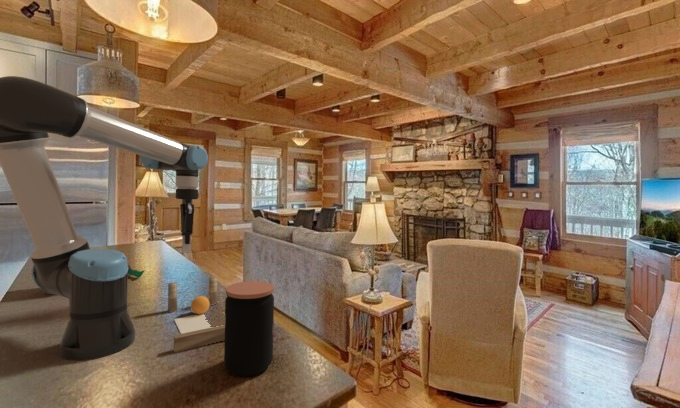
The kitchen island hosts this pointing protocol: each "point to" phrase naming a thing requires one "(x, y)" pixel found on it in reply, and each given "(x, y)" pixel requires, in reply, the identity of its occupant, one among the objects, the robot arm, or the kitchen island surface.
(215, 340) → the stopper wall
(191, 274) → the kitchen island surface
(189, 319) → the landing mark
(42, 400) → the kitchen island surface
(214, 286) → the post right
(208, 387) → the kitchen island surface
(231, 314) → the coffee jar
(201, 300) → the ball
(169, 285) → the post left
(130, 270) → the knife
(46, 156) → the robot arm
